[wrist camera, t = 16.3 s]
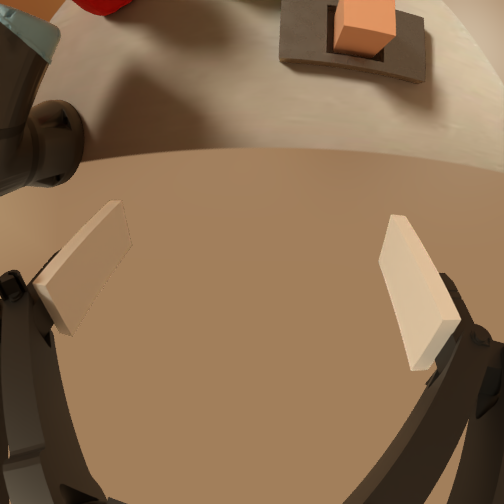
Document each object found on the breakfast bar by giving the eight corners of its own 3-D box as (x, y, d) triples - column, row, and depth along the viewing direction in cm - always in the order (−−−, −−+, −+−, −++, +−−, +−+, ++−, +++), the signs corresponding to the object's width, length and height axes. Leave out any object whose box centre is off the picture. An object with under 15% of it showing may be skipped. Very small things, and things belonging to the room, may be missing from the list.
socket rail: (280, 62, 32) (278, 57, 29) (283, 0, 28) (281, -7, 26) (417, 83, 29) (424, 81, 27) (417, 23, 26) (423, 17, 23)
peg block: (332, 52, 30) (343, 25, 20) (333, 19, 28) (343, -16, 18) (371, 58, 29) (396, 35, 19) (371, 25, 27) (394, -6, 17)
